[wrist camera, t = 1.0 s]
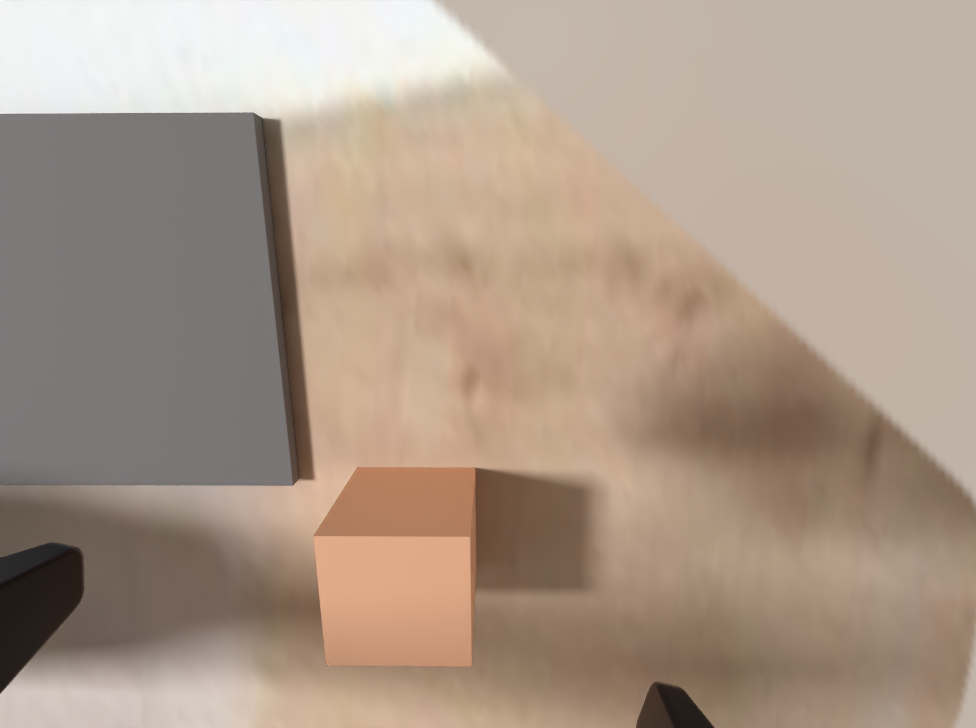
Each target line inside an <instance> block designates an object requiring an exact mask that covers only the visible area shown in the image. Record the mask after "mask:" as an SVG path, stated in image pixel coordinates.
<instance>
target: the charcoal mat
mask: <svg viewBox="0 0 976 728" xmlns="http://www.w3.org/2000/svg"><path fill="white" fill-rule="evenodd" d="M298 479H299V474H298V464H297V455H296V445H295V435H294V426H293V416H292V406H291V397H290V387H289V377H288V368H287V358H286V348H285V339H284V329H283V319H282V309H281V300H280V290H279V280H278V271H277V261H276V251H275V242H274V232H273V222H272V213H271V203H270V193H269V184H268V174H267V164H266V155H265V145H264V135H263V126H262V118H261V117H260V116H258V115H256V114H255V113H90V114H0V485H268V486H293V485H294V484H295V483H296V482H297V480H298Z"/></svg>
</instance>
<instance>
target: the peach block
mask: <svg viewBox="0 0 976 728" xmlns="http://www.w3.org/2000/svg"><path fill="white" fill-rule="evenodd" d="M313 538H314V548H315V559H316V569H317V579H318V589H319V599H320V609H321V619H322V629H323V640H324V650H325V660H326V666H455V667H472V649H473V629H474V609H475V590H476V468H365V467H357V469H356V470H355V472H354V473H353V475H352V476H351V478H350V480H349V481H348V483H347V484H346V486H345V487H344V489H343V491H342V492H341V494H340V495H339V497H338V498H337V500H336V502H335V503H334V505H333V506H332V508H331V509H330V511H329V512H328V514H327V516H326V517H325V519H324V520H323V522H322V523H321V525H320V527H319V528H318V530H317V531H316V533H315V534H314V536H313Z"/></svg>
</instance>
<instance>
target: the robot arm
mask: <svg viewBox="0 0 976 728" xmlns="http://www.w3.org/2000/svg"><path fill="white" fill-rule="evenodd" d="M83 593H84V562H83V553H82V551H81V550H80V549H79V548H77V547H73V546H69V545H64V544H60V543H48V544H44V545H41V546H38V547H34V548H31V549H28V550H25V551H21V552H18V553H15V554H12V555H8V556H5V557H2V558H0V694H1V692H2V691H3V690H4V689H5V688H6V687H7V686H8V685H9V683H10V682H11V681H12V680H13V679H14V678H15V677H16V676H17V674H18V673H19V672H20V671H21V670H22V669H23V668H24V666H25V665H26V664H27V663H28V662H29V661H30V660H31V659H32V657H33V656H34V655H35V654H36V653H37V652H38V651H39V649H40V648H41V647H42V646H43V645H44V644H45V643H46V642H47V640H48V639H49V638H50V637H51V636H52V635H53V634H54V633H55V631H56V630H57V629H58V628H59V627H60V626H61V625H62V623H63V622H64V621H65V620H66V619H67V618H68V617H69V616H70V614H71V613H72V612H73V611H74V610H75V609H76V607H77V606H78V604H79V603H80V601H81V599H82V596H83ZM636 728H714V726H713V725H712V724H711V723H710V721H709V720H708V719H707V718H706V716H705V715H704V714H703V713H702V711H701V710H700V709H699V708H698V707H697V705H696V704H695V703H694V702H693V700H692V699H691V698H690V697H689V695H688V694H687V693H686V692H685V691H684V690H683V689H682V688H680V687H678V686H675V685H671V684H666V683H662V682H654V683H653V684H652V685H651V687H650V688H649V691H648V694H647V696H646V699H645V702H644V704H643V707H642V710H641V712H640V715H639V718H638V721H637V726H636Z"/></svg>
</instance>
